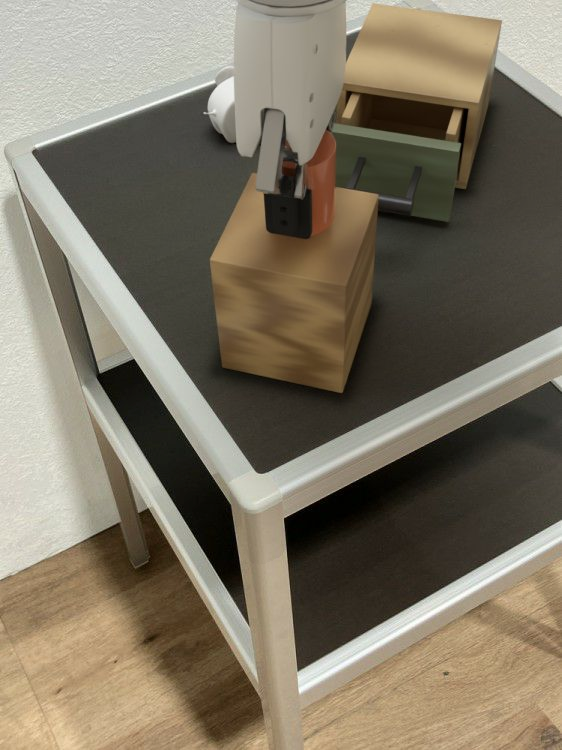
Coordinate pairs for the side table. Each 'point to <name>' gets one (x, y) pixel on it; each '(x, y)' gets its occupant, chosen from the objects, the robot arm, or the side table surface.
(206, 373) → the side table surface
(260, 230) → the oak stand
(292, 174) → the spice jar
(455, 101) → the cabinet
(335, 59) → the robot arm
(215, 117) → the elephant figurine
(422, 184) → the drawer
